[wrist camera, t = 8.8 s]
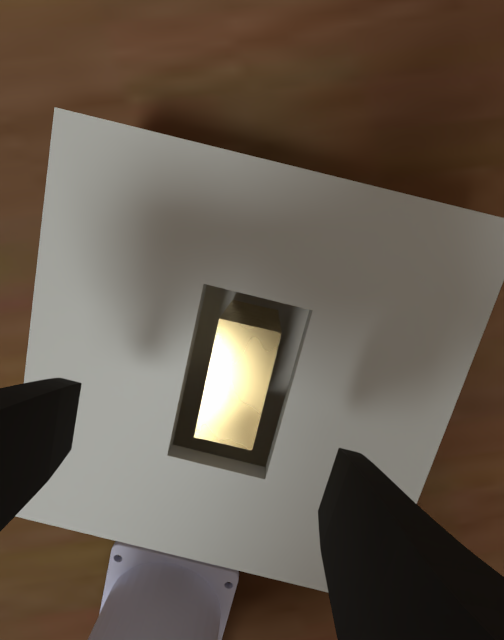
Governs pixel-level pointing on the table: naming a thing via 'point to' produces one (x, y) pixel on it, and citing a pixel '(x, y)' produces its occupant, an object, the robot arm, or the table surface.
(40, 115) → the table surface
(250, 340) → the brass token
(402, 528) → the robot arm
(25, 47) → the table surface
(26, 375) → the coin box
